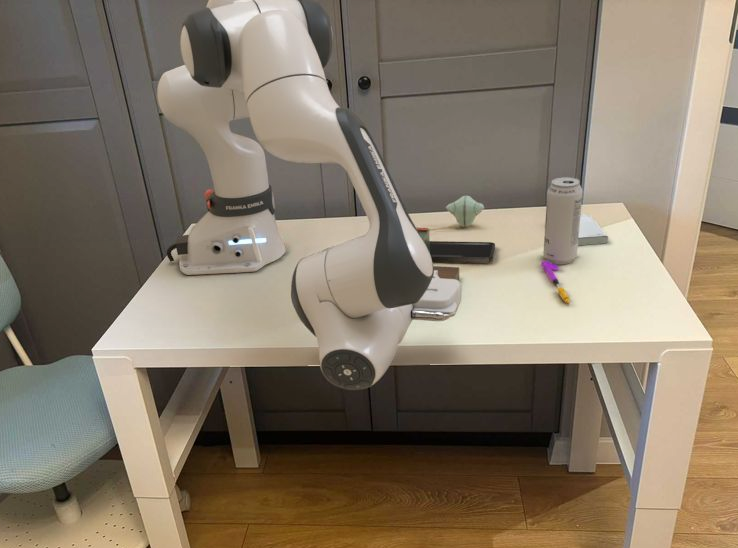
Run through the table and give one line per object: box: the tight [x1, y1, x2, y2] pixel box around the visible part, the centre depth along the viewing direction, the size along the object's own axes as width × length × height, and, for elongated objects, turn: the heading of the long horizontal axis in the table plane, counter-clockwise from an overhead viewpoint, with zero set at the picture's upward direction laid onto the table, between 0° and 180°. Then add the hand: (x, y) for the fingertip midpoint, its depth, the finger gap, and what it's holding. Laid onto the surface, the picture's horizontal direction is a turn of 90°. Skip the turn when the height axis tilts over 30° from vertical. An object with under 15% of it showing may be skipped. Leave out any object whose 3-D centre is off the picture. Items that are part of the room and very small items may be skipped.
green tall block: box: [416, 227, 431, 253], centre depth 124 cm, size 5×2×9 cm, turn 161°
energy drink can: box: [542, 176, 584, 265], centre depth 130 cm, size 6×6×15 cm
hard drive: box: [578, 213, 609, 246], centre depth 144 cm, size 2×8×12 cm
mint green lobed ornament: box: [445, 195, 485, 228], centre depth 151 cm, size 8×4×7 cm, turn 74°
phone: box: [430, 240, 496, 264], centre depth 140 cm, size 8×1×15 cm
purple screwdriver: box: [540, 259, 571, 304], centre depth 125 cm, size 3×1×16 cm
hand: (403, 272), depth 112 cm, fingers open, 8 cm apart
